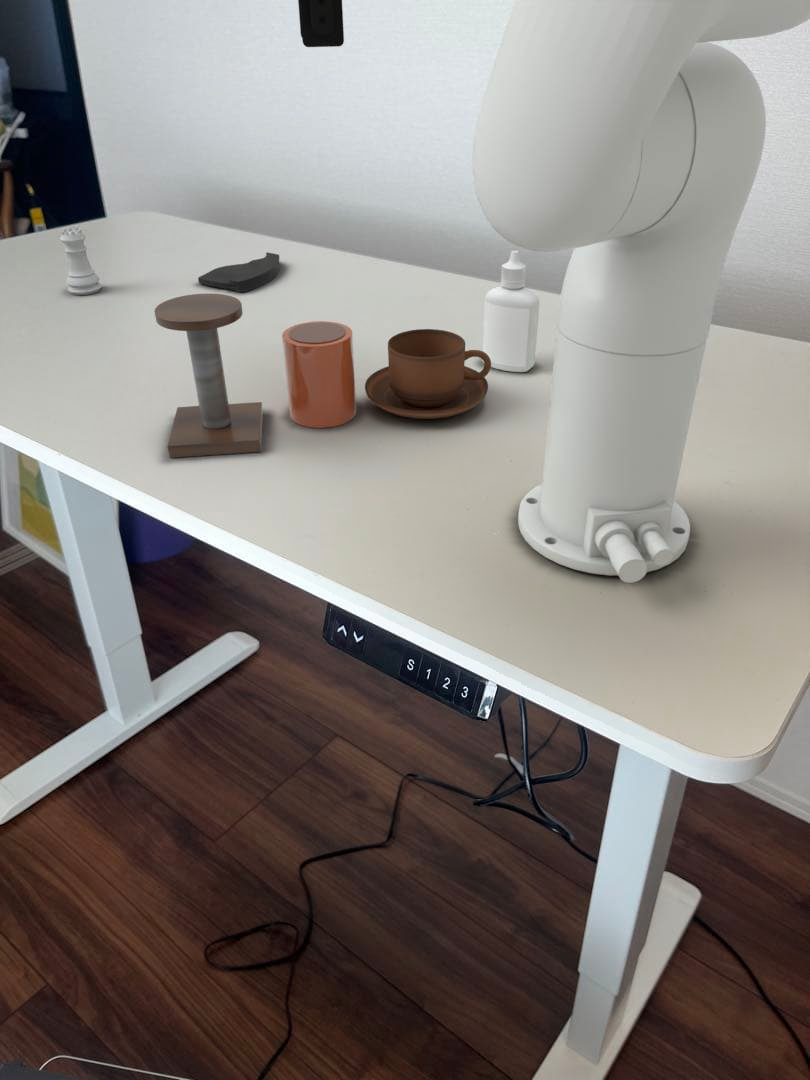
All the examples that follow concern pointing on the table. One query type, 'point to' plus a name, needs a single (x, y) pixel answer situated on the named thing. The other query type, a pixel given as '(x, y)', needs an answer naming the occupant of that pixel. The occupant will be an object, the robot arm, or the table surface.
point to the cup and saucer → (428, 376)
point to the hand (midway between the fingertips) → (321, 42)
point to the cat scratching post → (209, 381)
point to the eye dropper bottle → (511, 320)
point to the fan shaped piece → (243, 274)
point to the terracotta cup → (320, 373)
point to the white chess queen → (79, 264)
